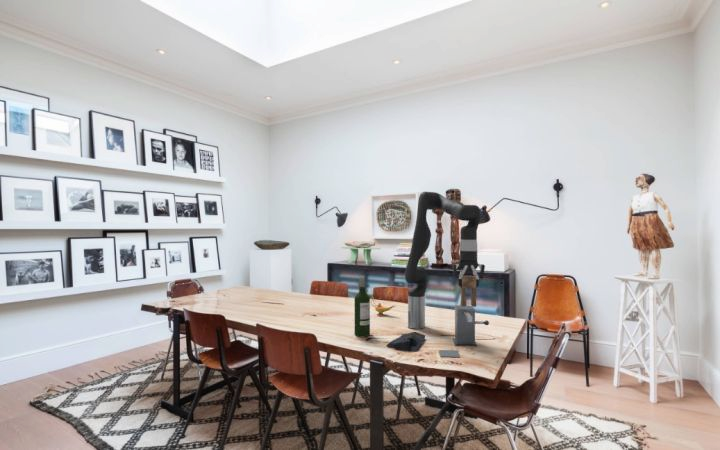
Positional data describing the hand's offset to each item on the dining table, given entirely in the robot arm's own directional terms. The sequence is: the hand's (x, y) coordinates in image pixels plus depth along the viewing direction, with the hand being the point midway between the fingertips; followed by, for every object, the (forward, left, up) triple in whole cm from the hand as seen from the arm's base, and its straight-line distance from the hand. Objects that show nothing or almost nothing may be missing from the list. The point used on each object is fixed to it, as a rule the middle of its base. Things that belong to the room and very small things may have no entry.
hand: (468, 287), depth 164 cm
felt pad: (-9, -5, -28) cm, 30 cm away
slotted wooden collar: (0, 0, -8) cm, 8 cm away
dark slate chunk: (-27, +8, -29) cm, 40 cm away
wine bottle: (-50, +19, -29) cm, 61 cm away
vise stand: (+3, +5, -28) cm, 29 cm away
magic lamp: (-42, +61, -29) cm, 79 cm away
